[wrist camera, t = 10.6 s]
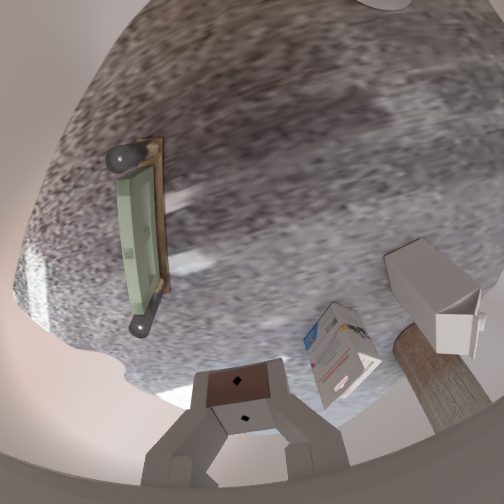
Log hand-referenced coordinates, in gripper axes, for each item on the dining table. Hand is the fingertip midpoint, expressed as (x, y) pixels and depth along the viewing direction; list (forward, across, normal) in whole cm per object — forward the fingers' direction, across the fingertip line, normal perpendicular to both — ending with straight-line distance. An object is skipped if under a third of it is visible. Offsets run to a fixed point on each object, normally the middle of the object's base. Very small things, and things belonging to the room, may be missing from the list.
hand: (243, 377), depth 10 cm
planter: (+29, -26, +34) cm, 52 cm away
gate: (+28, +12, +1) cm, 30 cm away
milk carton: (+29, -22, +17) cm, 40 cm away
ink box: (+29, -9, +24) cm, 39 cm away
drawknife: (+29, +12, +1) cm, 31 cm away
